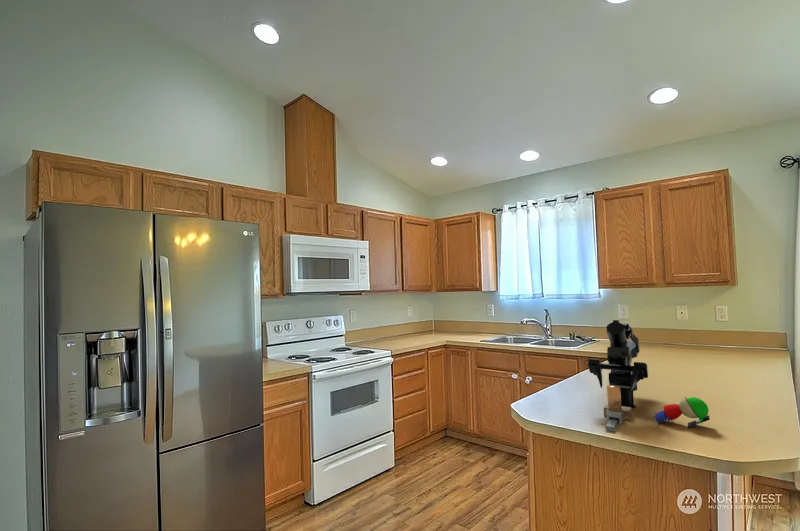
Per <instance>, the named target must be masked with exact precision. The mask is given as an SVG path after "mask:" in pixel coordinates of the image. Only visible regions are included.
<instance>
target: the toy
mask: <svg viewBox="0 0 800 531" xmlns="http://www.w3.org/2000/svg"><path fill="white" fill-rule="evenodd" d="M662 408H663V409H662V410H661V411H658V412H656V413H655V414H654V419H655V421H656V422H657V423H658V424H660V423H663V422H664V421H668V422H669V421H674V420H677V419H678V418H680V417H681V416H682V415H684V416H685V417H687V418H688V419H689V418H690V419H695V420H692V421H690V422H689V421H688V422H687V428H691V427H694V426H696V425H699V424H702V423H705V422H708V421H710V420H711V419H710V418H711V417H710V415H708V414H709V406H708V405H707V403H706V402H705V401H704V400H703V399H701V398H698V397H694V396H691V397H690V396H689V397H687V396H684V397H683V398H681V399H680V401H679V403H678V404H677V403H670V404H665V405H663V407H662Z"/></svg>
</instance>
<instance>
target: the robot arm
mask: <svg viewBox="0 0 800 531" xmlns="http://www.w3.org/2000/svg"><path fill="white" fill-rule="evenodd" d="M606 334H607V338H608V340H609V342H610V343H609V346H607V348H606V352H607V353H606V356H607V357H606V358H607V359H606V360H607V363H603V362H602V361H601V359H599V358H589V359H588V360H587V367H588V370H589V373H591V374H593V375H594V376H596V378H597V380H598V383H599V386H600V388H601V389H602V388H603V370H609V372H608V383H609V384H608V385H616V386H620V391H621V406H624V407H631V408H636V407H637V405H636V404H635V403H634V402H635V401H634V392H635V391H638V383H639V382H640V381H641V380H644V379H648V378H649V369H648V363H646V362H642V361H641V362H640V361H633V359H635V358H637V357H638V355H639V354H640V341H639V338H638V337H637V335H635V333H634V329H633V328H632V326H630V323H621V322H620V320H619V319H613V320H612V322H610V323H608V324H607V326H606ZM627 339H631V341H629V340H627ZM632 361H633V365H632Z"/></svg>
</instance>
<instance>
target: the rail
mask: <svg viewBox="0 0 800 531" xmlns="http://www.w3.org/2000/svg"><path fill="white" fill-rule="evenodd" d="M618 423H619V418H615V417H610V419H609V421H608V422H607V423H606V425H605V431H606V432H610V433H615V432H616V430H617V427H618V426H619V424H620V423H619V424H618ZM617 425H618V426H617Z"/></svg>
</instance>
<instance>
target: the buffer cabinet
mask: <svg viewBox="0 0 800 531" xmlns="http://www.w3.org/2000/svg"><path fill="white" fill-rule="evenodd" d="M607 409H608V403H606V404H605V405H604V406H603V417H604V416H606V410H607ZM621 409H623V420H626V419H628V420H627V421H631V419H632V417H633V415H632V407H624V406H621ZM631 416H632V417H631Z"/></svg>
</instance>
